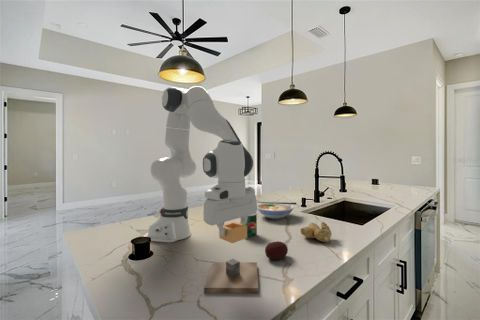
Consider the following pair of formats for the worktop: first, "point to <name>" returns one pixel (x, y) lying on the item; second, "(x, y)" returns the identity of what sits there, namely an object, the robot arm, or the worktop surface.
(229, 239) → the orange square tube
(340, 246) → the worktop surface
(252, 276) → the base plate
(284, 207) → the ramen bowl
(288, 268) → the worktop surface
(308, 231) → the ginger root
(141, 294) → the worktop surface
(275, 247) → the potato
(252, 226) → the canned tomato
